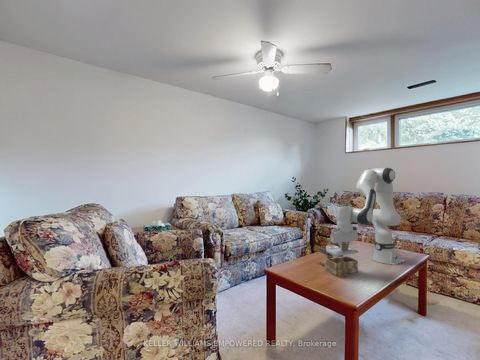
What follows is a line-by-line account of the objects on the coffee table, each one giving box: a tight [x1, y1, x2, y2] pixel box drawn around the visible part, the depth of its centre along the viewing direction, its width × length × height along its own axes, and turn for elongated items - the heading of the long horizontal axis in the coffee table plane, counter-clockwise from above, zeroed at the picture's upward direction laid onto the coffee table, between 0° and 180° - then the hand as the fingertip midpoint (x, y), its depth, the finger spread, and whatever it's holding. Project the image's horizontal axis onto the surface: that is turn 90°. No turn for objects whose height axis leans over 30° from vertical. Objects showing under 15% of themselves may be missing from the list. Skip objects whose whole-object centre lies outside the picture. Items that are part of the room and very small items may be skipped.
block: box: [328, 233, 345, 257], centre depth 186 cm, size 11×8×20 cm
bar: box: [313, 244, 330, 256], centre depth 171 cm, size 2×15×3 cm, turn 18°
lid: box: [326, 242, 359, 256], centre depth 159 cm, size 18×10×6 cm, turn 109°
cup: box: [325, 244, 339, 258], centre depth 176 cm, size 9×9×12 cm
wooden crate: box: [324, 254, 359, 278], centre depth 159 cm, size 18×13×10 cm
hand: (344, 248), depth 160 cm, fingers closed on lid, 3 cm apart
